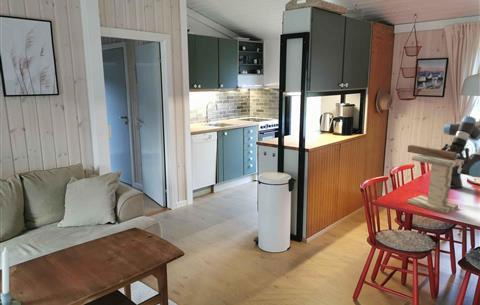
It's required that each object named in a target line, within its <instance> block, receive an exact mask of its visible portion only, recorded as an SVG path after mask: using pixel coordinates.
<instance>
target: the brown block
mask: <svg viewBox="0 0 480 305" xmlns="http://www.w3.org/2000/svg"><path fill="white" fill-rule="evenodd" d="M406 152H408V153H411V154H418V155H427V156H432V157H438V158H443V159H448V160H456V158H457V153H456V152H450V151H447V150H445V151H444V150H441V149H437V148H433V147H432V148H431V147H426V146H419V145H415V144H414V145H412V144H410V145H407V150H406Z"/></svg>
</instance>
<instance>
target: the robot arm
mask: <svg viewBox="0 0 480 305" xmlns="http://www.w3.org/2000/svg"><path fill="white" fill-rule="evenodd" d="M443 133H444V135H448V136H454V138H453V139H452V142H451V144H448V143H446V144H445V145H444V146H443V147H442V148H441V149H440V150H444V151H450V152H456V153H457V158H456V159H459V160H464V164H462V165H458V166H454V167H453V169H452V176H451V184H450V189H451V190H453V189H455V190H458V189H462V187H463V180H462V178H461V175H465V176H468V177H472V178H480V147H479V148H478V149H477V151H476V152H475V153H471V154H470V153H469V152H470V149H469V148H468V147H466V146H467V143H468V141H469V139H470V140H471V141H474V142H476V141H479V140H480V118H478V119H476V118H475V117H472V116H469V115H466V116H463V118H462V119H461V121H460V123H446V124H445V125H444V127H443ZM463 151H464V152H465V156H464V154H463Z"/></svg>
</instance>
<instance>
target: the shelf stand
mask: <svg viewBox="0 0 480 305" xmlns="http://www.w3.org/2000/svg"><path fill="white" fill-rule="evenodd" d="M411 158H412V159H411V161H413V162H414V161H415V162H419V163H424V164H429V165H431V166H430V167H431V169H430V174H429V175H430V177H429V186H428V195H425V194H420V195H418V196H415V197H411V198H408V199H407V204H410V205H413V206H417V207H419V208H422V209H423V208H424V209H426V210H429V211H432V212H433V211H434V212H436V213H439V214H442V215H444V214H447V213H449V212H452V211H455V210H457V209H459V204H456V203H453V202H449V197H450V190H451V188H450V184H451V176H452V169H453V167H454V166H458V165H462V164H464V160H459V159H456V160H448V159H443V158H438V157H432V156H427V155H422V154H418V155H415V156H412V157H411Z"/></svg>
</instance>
